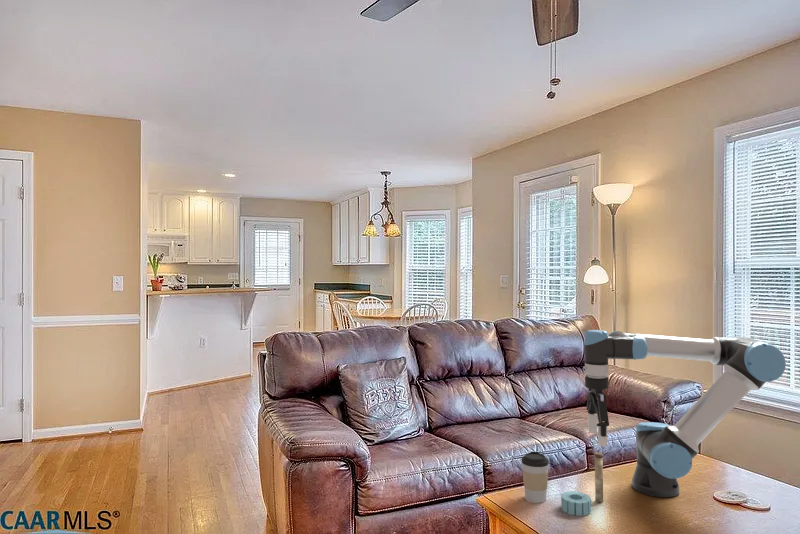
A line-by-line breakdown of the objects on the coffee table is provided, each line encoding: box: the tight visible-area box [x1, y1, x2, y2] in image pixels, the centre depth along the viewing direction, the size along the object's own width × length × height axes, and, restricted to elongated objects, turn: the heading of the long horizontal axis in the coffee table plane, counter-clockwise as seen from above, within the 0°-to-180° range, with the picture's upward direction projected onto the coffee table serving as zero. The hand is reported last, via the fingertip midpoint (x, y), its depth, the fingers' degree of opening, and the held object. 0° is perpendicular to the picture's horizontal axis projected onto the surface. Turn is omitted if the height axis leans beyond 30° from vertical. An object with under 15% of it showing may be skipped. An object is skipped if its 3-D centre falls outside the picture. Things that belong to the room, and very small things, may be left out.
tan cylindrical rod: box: [593, 451, 604, 504], centre depth 177 cm, size 2×2×16 cm
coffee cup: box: [521, 451, 550, 504], centre depth 179 cm, size 9×9×15 cm
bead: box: [560, 490, 592, 517], centre depth 171 cm, size 9×9×4 cm
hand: (597, 439), depth 177 cm, fingers open, 13 cm apart
